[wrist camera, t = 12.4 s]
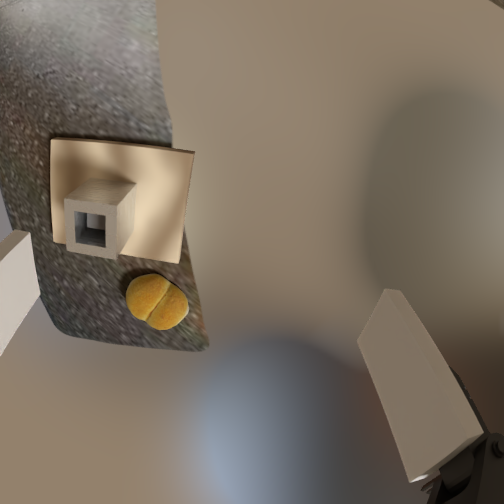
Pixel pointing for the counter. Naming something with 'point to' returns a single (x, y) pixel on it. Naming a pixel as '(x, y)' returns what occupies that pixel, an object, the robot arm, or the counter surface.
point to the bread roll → (156, 301)
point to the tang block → (133, 171)
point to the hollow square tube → (102, 203)
